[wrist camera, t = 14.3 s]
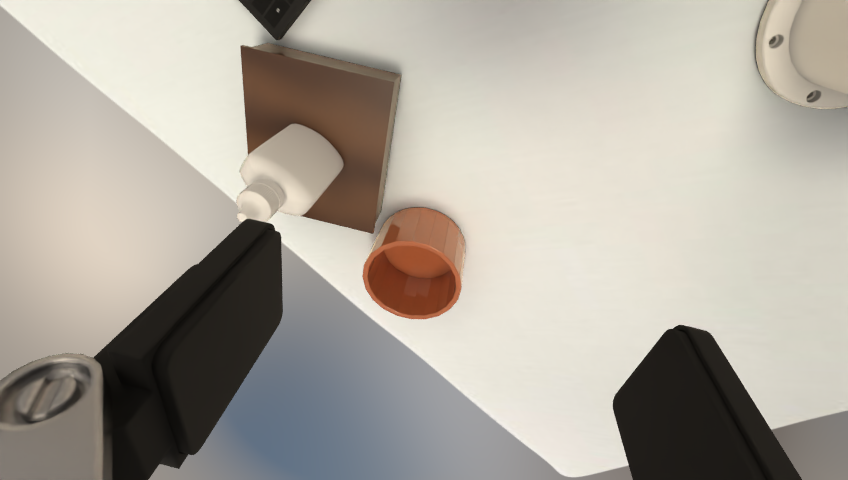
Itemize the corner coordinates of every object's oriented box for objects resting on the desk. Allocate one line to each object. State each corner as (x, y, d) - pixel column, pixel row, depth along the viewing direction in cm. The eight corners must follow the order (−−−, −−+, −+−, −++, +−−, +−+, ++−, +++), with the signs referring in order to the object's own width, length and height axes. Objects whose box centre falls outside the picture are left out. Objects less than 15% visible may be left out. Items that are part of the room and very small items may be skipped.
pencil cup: (385, 197, 40) (368, 230, 35) (475, 219, 40) (472, 255, 35) (374, 268, 46) (358, 306, 40) (453, 288, 46) (448, 328, 40)
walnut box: (265, 39, 34) (240, 45, 30) (404, 72, 34) (394, 82, 30) (270, 186, 42) (251, 203, 39) (382, 214, 42) (373, 233, 38)
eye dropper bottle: (310, 185, 36) (241, 260, 26) (278, 128, 34) (188, 188, 24) (350, 172, 35) (293, 246, 25) (320, 111, 32) (243, 168, 22)
